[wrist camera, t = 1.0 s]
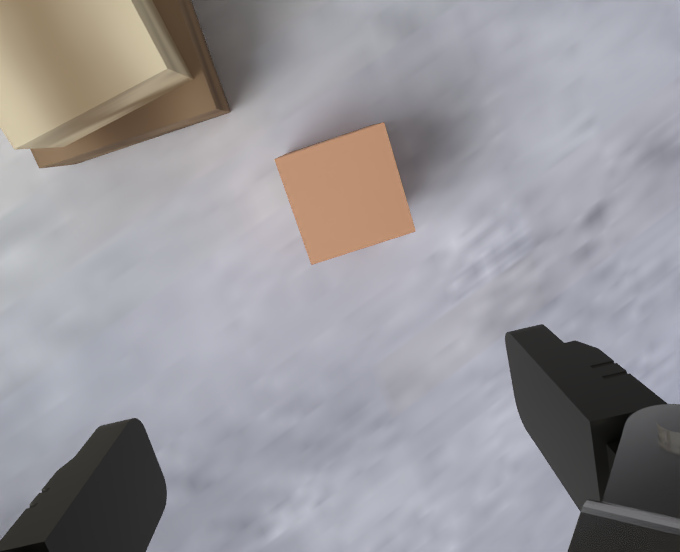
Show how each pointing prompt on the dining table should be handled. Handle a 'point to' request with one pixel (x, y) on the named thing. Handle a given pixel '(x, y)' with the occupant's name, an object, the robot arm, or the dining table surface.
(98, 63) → the tower middle
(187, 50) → the tower base
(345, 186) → the peach cube on top
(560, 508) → the dining table surface
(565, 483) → the robot arm
